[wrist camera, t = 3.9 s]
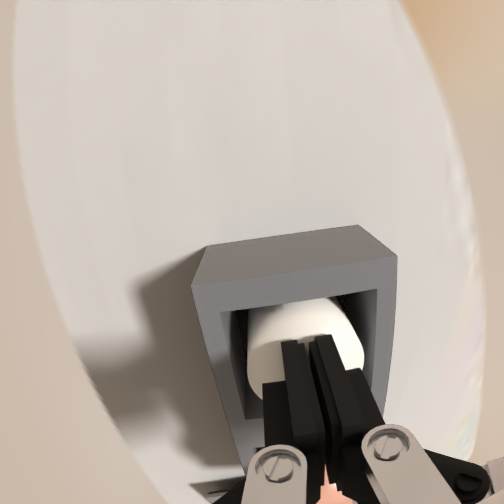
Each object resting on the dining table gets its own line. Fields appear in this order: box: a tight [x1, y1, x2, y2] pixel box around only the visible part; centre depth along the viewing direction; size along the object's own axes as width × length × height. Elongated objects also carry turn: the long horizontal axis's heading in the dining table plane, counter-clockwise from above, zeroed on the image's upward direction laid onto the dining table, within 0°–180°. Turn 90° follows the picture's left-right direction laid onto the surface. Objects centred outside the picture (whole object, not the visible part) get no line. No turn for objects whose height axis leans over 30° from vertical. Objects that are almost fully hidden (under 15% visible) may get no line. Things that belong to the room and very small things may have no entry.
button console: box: [191, 225, 397, 477], centre depth 14 cm, size 14×6×4 cm, turn 8°
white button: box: [247, 296, 364, 400], centre depth 12 cm, size 4×4×4 cm
